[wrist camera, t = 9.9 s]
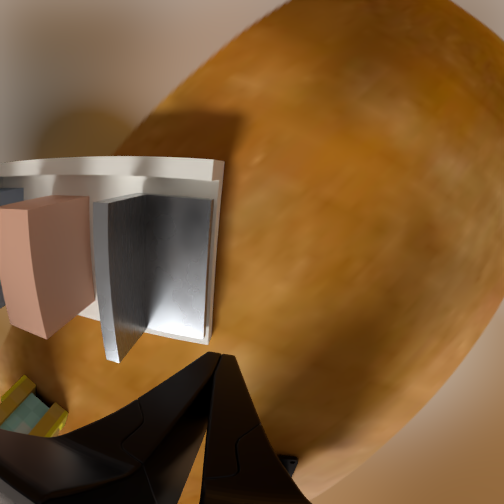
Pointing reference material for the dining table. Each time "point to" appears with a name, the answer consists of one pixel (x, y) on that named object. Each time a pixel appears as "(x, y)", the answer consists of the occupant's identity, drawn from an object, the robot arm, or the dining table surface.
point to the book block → (46, 262)
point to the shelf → (114, 185)
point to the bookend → (151, 267)
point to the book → (30, 411)
